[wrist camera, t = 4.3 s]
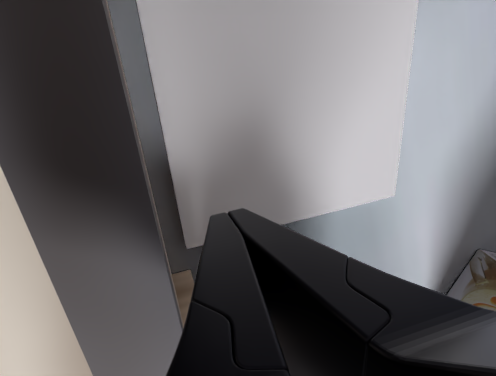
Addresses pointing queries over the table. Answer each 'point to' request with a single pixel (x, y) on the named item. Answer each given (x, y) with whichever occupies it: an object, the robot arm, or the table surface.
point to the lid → (76, 204)
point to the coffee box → (477, 281)
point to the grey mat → (279, 103)
